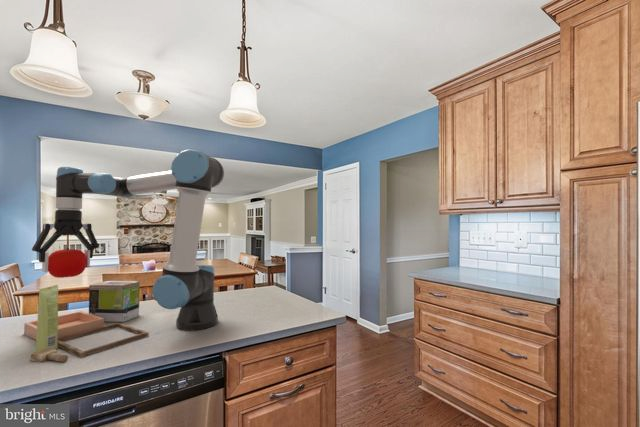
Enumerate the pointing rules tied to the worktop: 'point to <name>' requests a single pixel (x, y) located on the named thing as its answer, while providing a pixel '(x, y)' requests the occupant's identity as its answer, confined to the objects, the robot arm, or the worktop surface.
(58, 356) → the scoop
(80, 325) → the brown wooden flat box
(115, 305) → the tea box
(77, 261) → the tomato
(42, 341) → the tube
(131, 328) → the rim
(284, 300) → the worktop surface
